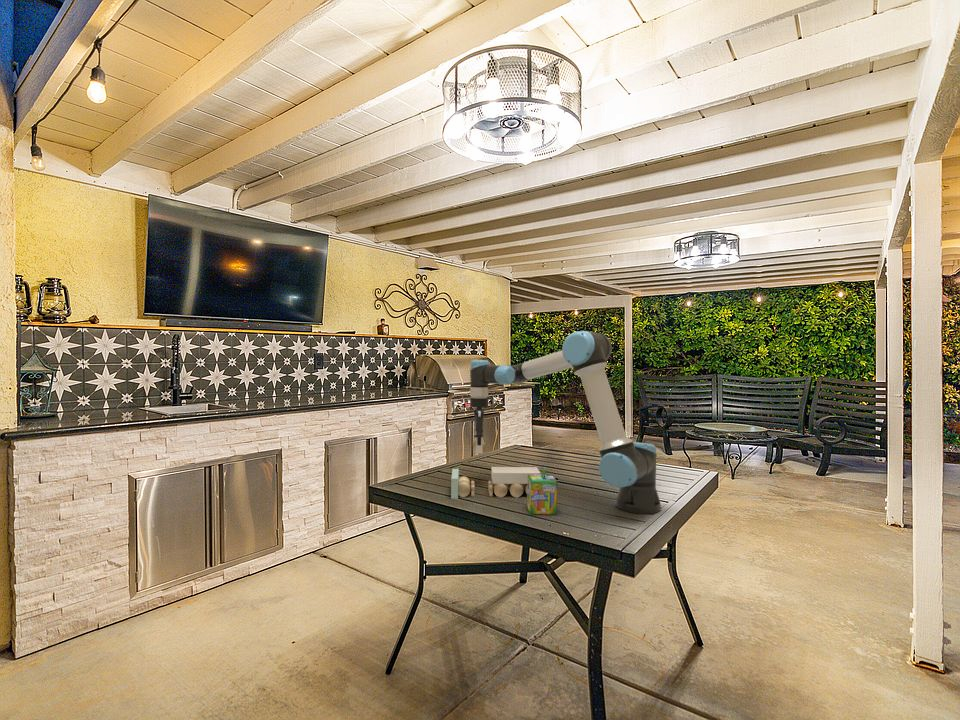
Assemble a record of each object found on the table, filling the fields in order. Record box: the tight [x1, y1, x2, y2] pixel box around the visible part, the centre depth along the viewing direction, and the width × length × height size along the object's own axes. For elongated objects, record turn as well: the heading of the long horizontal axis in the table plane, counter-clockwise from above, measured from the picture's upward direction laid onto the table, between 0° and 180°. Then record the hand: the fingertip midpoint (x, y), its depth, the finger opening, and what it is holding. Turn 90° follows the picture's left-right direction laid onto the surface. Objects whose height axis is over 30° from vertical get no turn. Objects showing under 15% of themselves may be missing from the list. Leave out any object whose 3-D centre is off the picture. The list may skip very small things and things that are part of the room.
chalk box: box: [526, 466, 558, 515], centre depth 169 cm, size 9×9×15 cm
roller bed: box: [458, 476, 528, 498], centre depth 189 cm, size 11×31×5 cm, turn 92°
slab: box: [490, 466, 542, 485], centre depth 189 cm, size 10×18×4 cm, turn 92°
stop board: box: [450, 468, 460, 500], centre depth 189 cm, size 16×2×8 cm, turn 2°
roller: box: [472, 437, 487, 455], centre depth 203 cm, size 11×5×5 cm, turn 2°
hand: (478, 450), depth 203 cm, fingers closed on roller, 11 cm apart
